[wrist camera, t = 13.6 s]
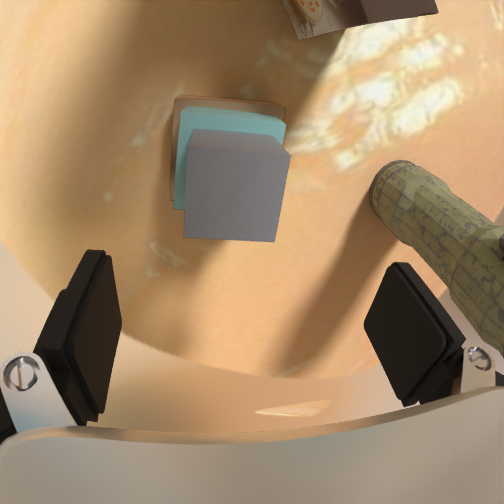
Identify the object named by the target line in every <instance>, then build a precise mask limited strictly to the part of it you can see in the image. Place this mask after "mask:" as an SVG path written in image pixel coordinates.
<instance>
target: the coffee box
mask: <svg viewBox="0 0 504 504" xmlns="http://www.w3.org/2000/svg"><path fill="white" fill-rule="evenodd" d="M282 2H283V4H284V7H285V9H286V11H287V13H288V16H289V18H290V20H291V23H292V25H293V28H294V30H295V32H296V35H297V37H298V39H299V40H302V39H305V38H309V37H312V36H316V35H321V34H325V33H329V32H333V31H337V30H342V29H346V28H351V27H356V26H361V25H366V24H372V23H378V22H384V21H390V20H396V19H404V18H412V17H418V16H424V15H432V14H437V13H439V12H438V9H437V6H436V3H435V0H282Z"/></svg>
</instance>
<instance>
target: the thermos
mask: <svg viewBox="0 0 504 504" xmlns="http://www.w3.org/2000/svg"><path fill="white" fill-rule="evenodd" d="M370 204H371V206H372V209H373V211H374V212H375V213H376V214H377V215H378V216H379V217H380V218H381V221H382V222H383V223H384V224H385V225H386V226H387V227H388V228H389V229H390V230H391V231H392V232H393V233H394V235H395V236H396V237H397V238H398V239H399V240H400V241H401V242H402V243H404V244H406V245H409V246H411V247H413V248H414V249H415V251H416V252H417V253H418V254H419V255H420V256H421V257H422V258H423V259H424V260H425V262H426V263H427V264H428V265H429V266H430V267H431V268H432V269H433V271H434V272H435V273H436V274H437V275H438V276H439V277H440V279H441V280H442V281H443V282H444V283H445V285H446V286H447V287H448V288H449V292H450V296H451V299H452V300H453V301H454V303H455V304H456V305H457V307H458V308H459V309H460V311H461V312H462V313H463V314H464V316H465V317H466V318H467V320H468V321H469V322H470V323H471V325H472V326H473V328H474V329H475V330H476V331H477V333H478V334H479V336H480V337H481V339H482V340H483V341H484V342H486V343H487V344H489V345H491V346H492V347H494V348H495V349H497V350H498V351H499V352H500V353H501V355H502V356H503V358H504V227H502V226H497V225H495V224H494V223H493V222H491V221H490V220H489V219H487V218H486V217H485V216H484V215H482V214H481V213H480V212H478V211H477V210H476V209H474V208H473V207H472V206H470V205H469V204H467V203H466V202H465V201H463V200H462V199H461V198H459V197H458V196H456V195H455V194H453V193H452V192H451V191H450V189H449V187H448V186H447V184H446V183H445V182H444V181H442V180H441V179H439V178H438V177H436V176H435V175H433V174H431V173H430V172H428V171H426V170H425V169H423V168H422V167H419V166H416V165H414V164H412V163H411V162H409V161H404V160H398V161H393V162H391V163H389V164H387V165H386V166H384V167H383V168H382V169H381V170H380V171H379V172H378V173H377V174H376V176H375V178H374V180H373V182H372V184H371V189H370Z"/></svg>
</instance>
